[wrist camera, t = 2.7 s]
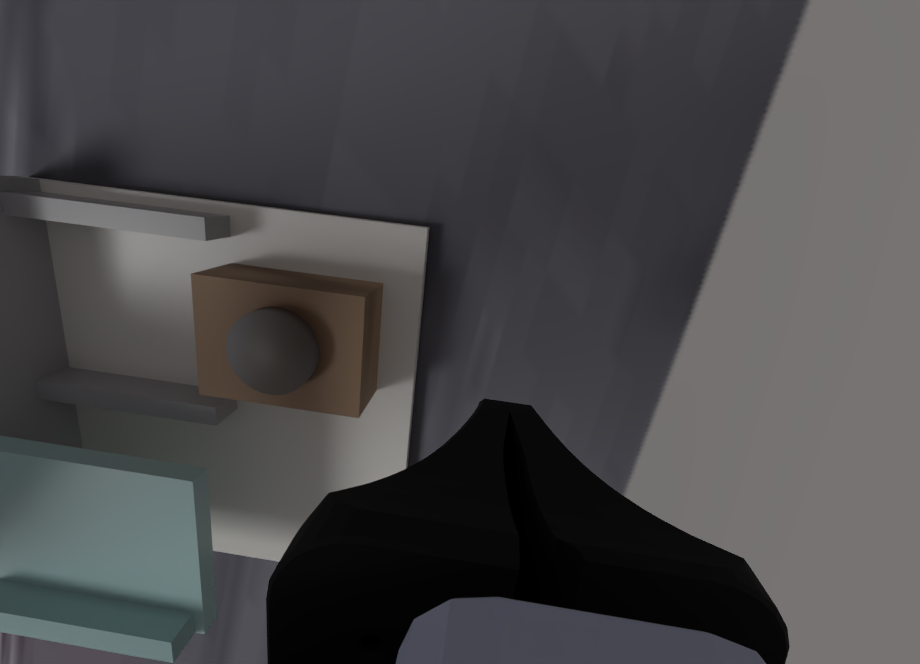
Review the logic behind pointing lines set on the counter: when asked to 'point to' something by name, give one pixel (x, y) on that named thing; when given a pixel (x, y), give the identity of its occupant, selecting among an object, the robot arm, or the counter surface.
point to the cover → (104, 549)
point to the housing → (192, 344)
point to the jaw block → (287, 338)
